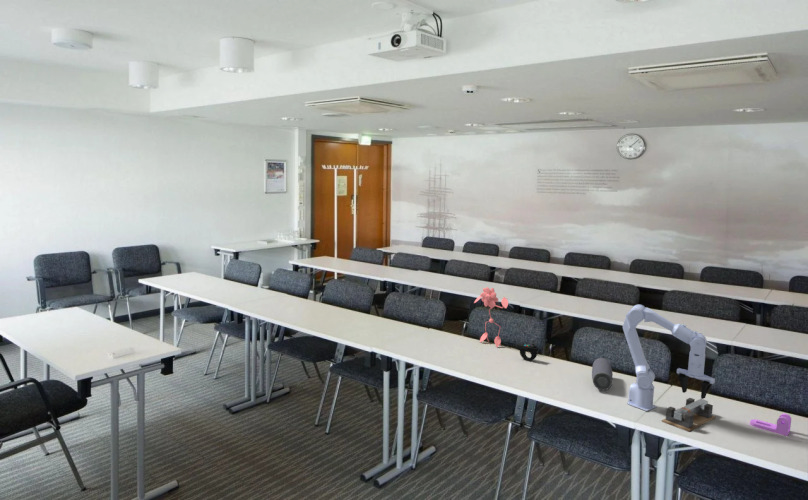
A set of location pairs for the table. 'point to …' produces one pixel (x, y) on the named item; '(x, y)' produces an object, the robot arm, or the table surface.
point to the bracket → (780, 428)
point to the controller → (524, 348)
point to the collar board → (696, 420)
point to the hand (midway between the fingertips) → (693, 395)
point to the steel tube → (690, 409)
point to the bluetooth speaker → (602, 374)
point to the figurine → (490, 300)
